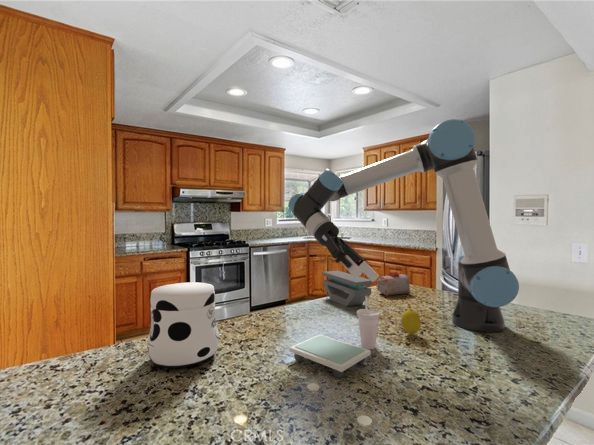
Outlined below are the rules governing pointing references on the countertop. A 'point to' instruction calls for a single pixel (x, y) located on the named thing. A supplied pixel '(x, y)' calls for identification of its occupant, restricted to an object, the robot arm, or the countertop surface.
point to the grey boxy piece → (393, 284)
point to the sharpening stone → (346, 288)
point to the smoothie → (368, 326)
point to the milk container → (182, 324)
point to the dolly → (330, 353)
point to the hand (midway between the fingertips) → (368, 277)
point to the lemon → (411, 321)
